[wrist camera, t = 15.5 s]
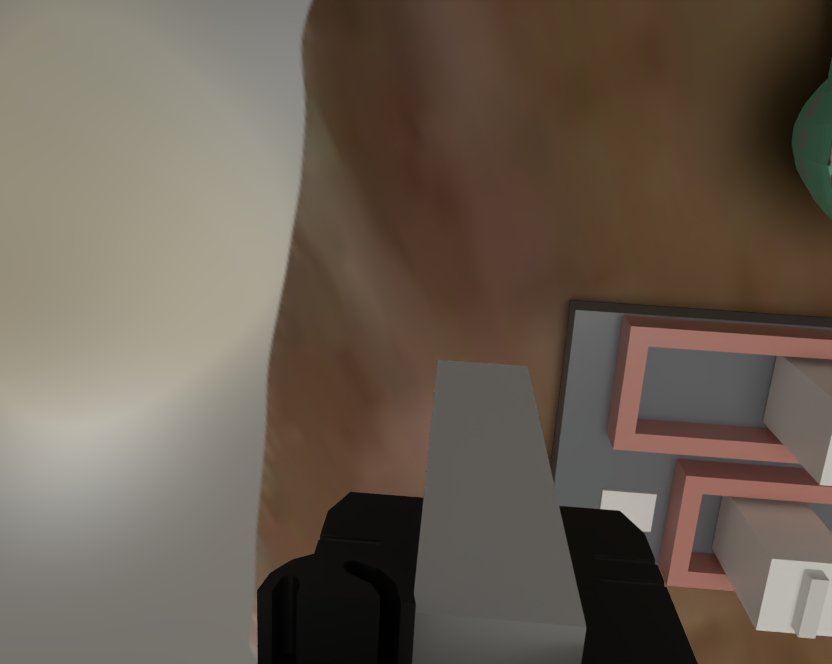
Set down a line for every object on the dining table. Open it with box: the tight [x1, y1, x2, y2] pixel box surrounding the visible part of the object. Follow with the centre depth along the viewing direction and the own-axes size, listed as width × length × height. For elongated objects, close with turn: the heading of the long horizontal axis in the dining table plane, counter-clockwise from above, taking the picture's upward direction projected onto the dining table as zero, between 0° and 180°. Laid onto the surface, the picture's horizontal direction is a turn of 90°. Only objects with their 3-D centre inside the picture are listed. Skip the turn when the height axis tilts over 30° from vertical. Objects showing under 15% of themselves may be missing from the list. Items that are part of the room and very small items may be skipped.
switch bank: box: [551, 300, 832, 591], centre depth 42 cm, size 15×24×4 cm, turn 87°
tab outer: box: [712, 496, 832, 639], centre depth 40 cm, size 4×4×8 cm
